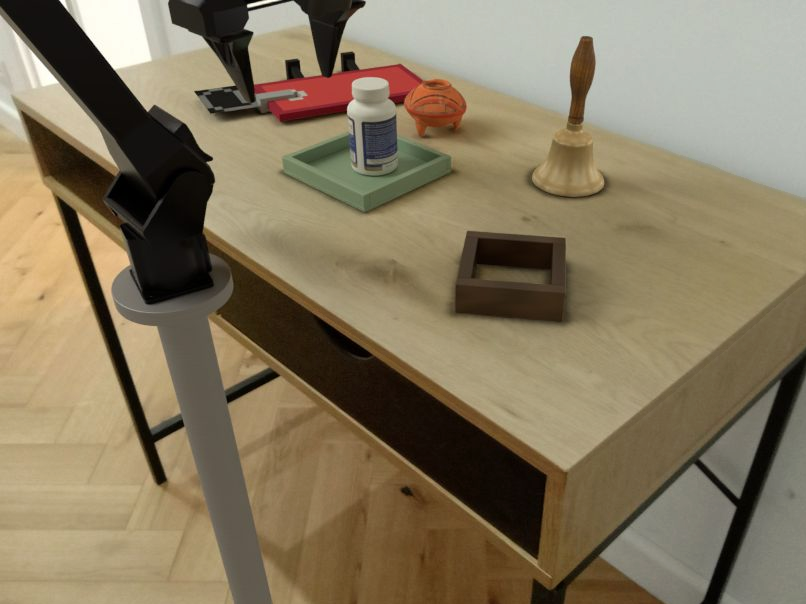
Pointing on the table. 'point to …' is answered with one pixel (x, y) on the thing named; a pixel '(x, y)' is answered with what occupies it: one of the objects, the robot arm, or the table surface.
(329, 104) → the red board with handle
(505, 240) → the bottle holder
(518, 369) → the table surface
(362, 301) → the table surface
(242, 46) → the robot arm
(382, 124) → the pill bottle
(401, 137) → the tray
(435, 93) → the pot
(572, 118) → the hand bell
